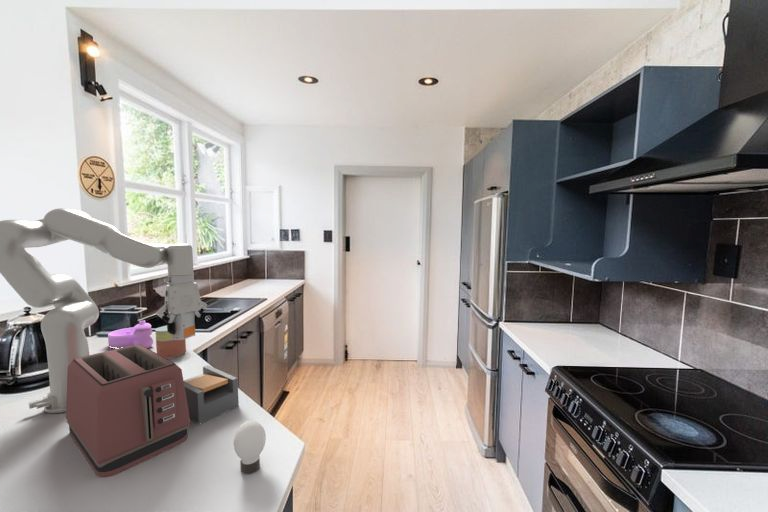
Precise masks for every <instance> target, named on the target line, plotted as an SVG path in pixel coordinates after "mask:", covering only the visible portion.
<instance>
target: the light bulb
mask: <svg viewBox="0 0 768 512" xmlns="http://www.w3.org/2000/svg"><path fill="white" fill-rule="evenodd" d="M265 446H266V430H265V428H264V426H263V424H262V423H261V422H259V421H258V420H255V419H249V420H246V421H244V422H243V423H242V424H241V425H239V426H238V427H237V430H236V431H235V434H234V438H233V447H234V448H233V449H234V452H235V453H236V456H237V457H238V458H239V459H240V464H239V465H240V472H241V473H242V474H253V473H256V472H257V471H258V470H260V468H261V467H260V465H261V461H260V460H261V458H260V455H261V453H262V452H263V450H264V447H265Z"/></svg>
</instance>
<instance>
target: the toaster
mask: <svg viewBox="0 0 768 512" xmlns="http://www.w3.org/2000/svg"><path fill="white" fill-rule="evenodd" d="M183 375H184V374H183V369H182V368H181V367H180V366H178V365H177V364H176V363H175V362H174V361H172V360H170V359H169V358H164V357H163V356H161V355H159V354H157V352H155V351H153V350H151V349H150V348H148V349H147V348H146V347H144V346H142V345H140V344H136V345H132V346H127V347H123V348H119V349H110V350H106V351H103V352H98V353H94V354H89V355H88V356H84V357H79V358H75V359H73V361H72V362H71V363H70V364H69V365H68V370H67V399H66V412H65V418H66V423H67V424H68V426H69V427H68V428H69V429H68V431H69V435H70V436H71V438H72V440H73V441H74V443H75V444H76V446H77V447H78V449H79V451H80V452H81V453H82V455H83V456H84V458H85V459H86V461H87V462H88V464H89V466H90V467H91V469H92V470H93V472H94V473H95V474H96V476H98V477H100V478H107V477H113V476H115V475H117V474H120V473H122V472H124V471H125V472H126V470H129V469H131V468H133V467H135V466H137V465H139V464H141V463H144V462H146V461H148V460H150V459H152V458H154V457H157V456H159V455H161V454H162V453H165V452H166V451H169V450H171V449H173V448H176V447H177V446H180V445H181V444H183V443H184V442H185V441H186V440H187V438H188V436H189V435H188V433H189V431H188V429H189V428H190V426H191V425H190V423H191V419H190V417H189V411H188V405H187V399H186V393H185V387H184V377H183Z"/></svg>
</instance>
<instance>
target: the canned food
mask: <svg viewBox="0 0 768 512" xmlns="http://www.w3.org/2000/svg"><path fill="white" fill-rule="evenodd" d="M154 330H155V345H156V348H155V349H156V353H157V354H159V355H161V356H163V357H164V358H166V359H170V357H172V358H176V357H175V356H177V357H179V355H180V356H182V355H185V354H186V353H187V344H186V339H184V340H173V339H172V334H170V333H169V332H168V331H167V324H166V325H162V326H159V327H156V328H155V329H154ZM185 352H186V353H185Z"/></svg>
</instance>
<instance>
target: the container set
mask: <svg viewBox="0 0 768 512" xmlns="http://www.w3.org/2000/svg"><path fill="white" fill-rule="evenodd" d="M152 334H153V329H152V325H151V323H149V322H146V320H145V319H143V320H139V323H137V324H135V325H134V326H133V327H126V328H120V329H116V330H113V331H110V332H108V333H107V339H108V340H107V343H108V347H109V346H111V347H117V348H121V347H127V346H132V345H136V344H140V345H142V346H144V347H146V348H148V349H150V348H151V347H152V346H153V345H154V339H153V338H152V336H151V335H152ZM149 347H150V348H149Z"/></svg>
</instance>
